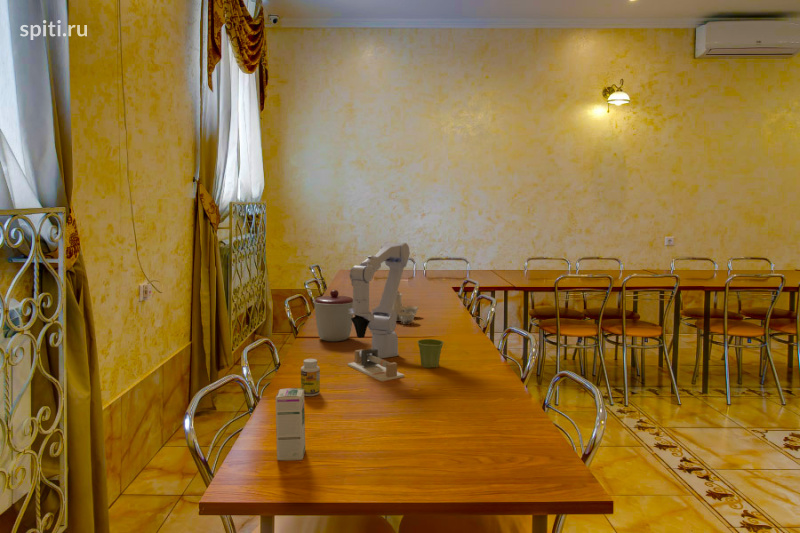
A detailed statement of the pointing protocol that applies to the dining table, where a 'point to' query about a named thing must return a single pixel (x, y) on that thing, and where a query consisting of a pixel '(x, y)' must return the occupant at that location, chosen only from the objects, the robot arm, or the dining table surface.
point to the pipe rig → (376, 367)
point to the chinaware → (403, 310)
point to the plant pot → (430, 352)
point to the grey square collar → (364, 356)
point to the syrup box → (290, 424)
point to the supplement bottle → (310, 377)
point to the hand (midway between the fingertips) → (360, 337)
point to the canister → (333, 316)
